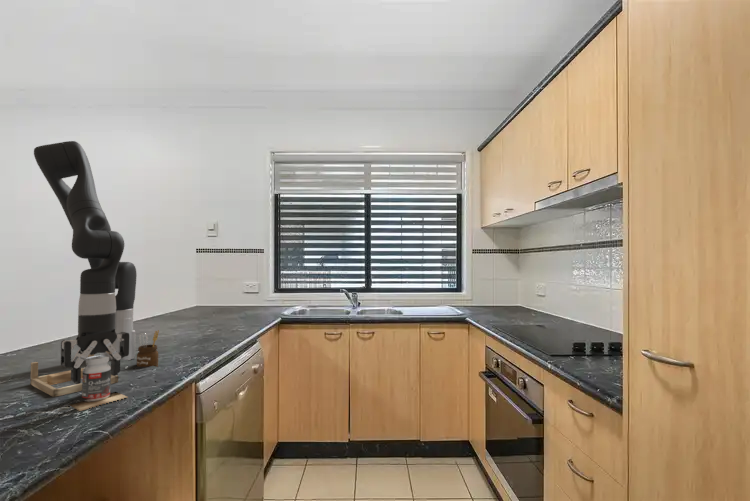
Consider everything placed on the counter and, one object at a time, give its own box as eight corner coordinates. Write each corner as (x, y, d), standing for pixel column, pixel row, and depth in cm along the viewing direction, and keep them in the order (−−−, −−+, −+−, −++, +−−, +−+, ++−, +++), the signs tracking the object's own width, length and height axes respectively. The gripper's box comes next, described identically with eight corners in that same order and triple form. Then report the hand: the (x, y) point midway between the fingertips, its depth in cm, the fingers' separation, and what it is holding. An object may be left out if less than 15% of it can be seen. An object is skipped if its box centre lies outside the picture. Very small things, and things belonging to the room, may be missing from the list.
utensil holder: (146, 365, 127) (147, 328, 127) (163, 366, 126) (164, 329, 126) (131, 370, 121) (132, 331, 121) (149, 371, 120) (150, 332, 120)
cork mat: (109, 390, 103) (109, 389, 103) (127, 398, 97) (127, 396, 97) (62, 401, 94) (62, 400, 94) (79, 411, 89) (79, 409, 89)
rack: (92, 376, 115) (92, 352, 115) (118, 387, 105) (118, 361, 106) (30, 389, 103) (30, 362, 103) (53, 402, 94) (54, 373, 94)
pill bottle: (88, 404, 92) (89, 361, 92) (77, 399, 95) (78, 358, 95) (114, 396, 97) (115, 356, 97) (103, 392, 100) (104, 353, 100)
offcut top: (77, 375, 111) (77, 368, 111) (82, 377, 109) (83, 370, 109) (47, 382, 105) (47, 375, 105) (52, 384, 103) (52, 376, 103)
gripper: (122, 307, 104) (121, 369, 104) (55, 313, 92) (54, 384, 92) (136, 309, 100) (134, 374, 100) (68, 316, 88) (66, 390, 88)
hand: (96, 379), depth 96 cm, fingers open, 7 cm apart
